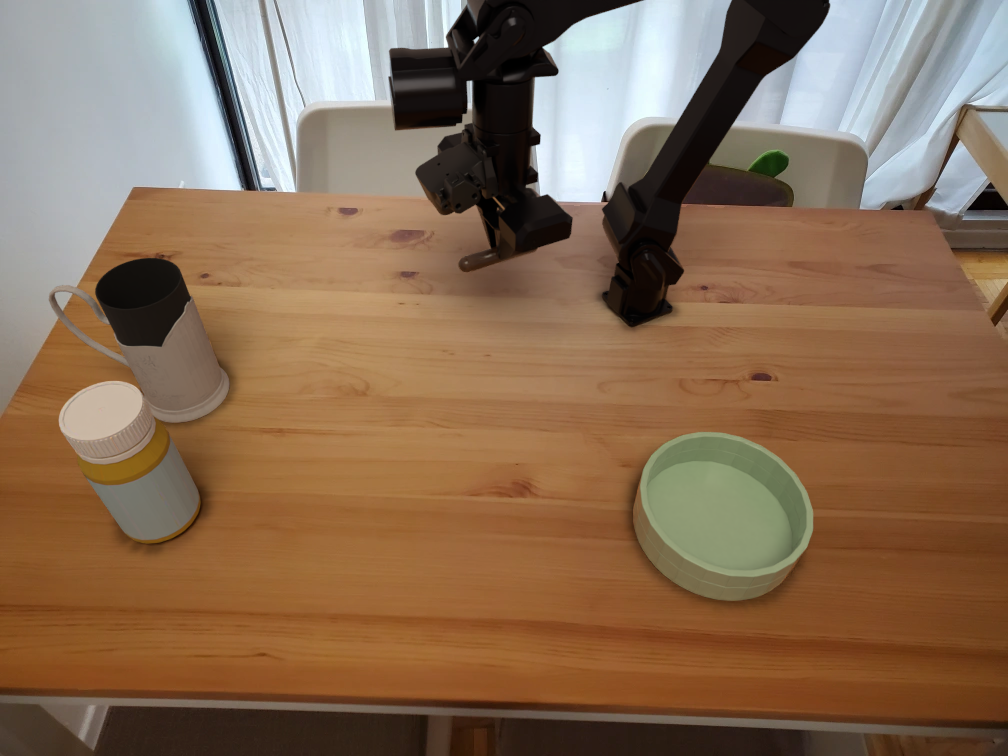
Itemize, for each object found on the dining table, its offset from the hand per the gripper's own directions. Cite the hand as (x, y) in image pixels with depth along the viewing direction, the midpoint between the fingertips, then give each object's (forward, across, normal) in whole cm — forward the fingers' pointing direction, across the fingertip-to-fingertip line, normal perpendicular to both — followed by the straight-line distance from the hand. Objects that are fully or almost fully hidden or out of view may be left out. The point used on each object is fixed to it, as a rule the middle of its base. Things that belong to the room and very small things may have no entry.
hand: (499, 253), depth 79 cm
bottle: (+10, +10, -40) cm, 43 cm away
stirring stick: (+1, 0, 0) cm, 1 cm away
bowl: (+10, +34, +5) cm, 36 cm away
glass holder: (+10, -6, -38) cm, 39 cm away
